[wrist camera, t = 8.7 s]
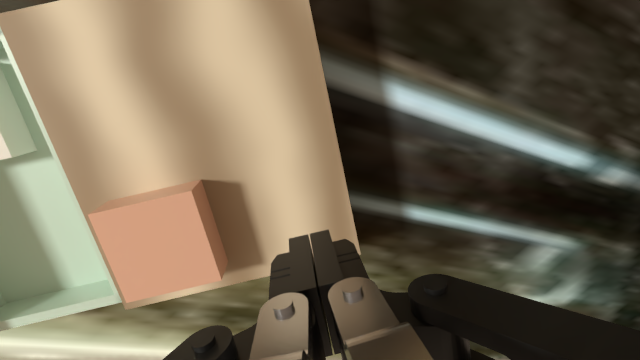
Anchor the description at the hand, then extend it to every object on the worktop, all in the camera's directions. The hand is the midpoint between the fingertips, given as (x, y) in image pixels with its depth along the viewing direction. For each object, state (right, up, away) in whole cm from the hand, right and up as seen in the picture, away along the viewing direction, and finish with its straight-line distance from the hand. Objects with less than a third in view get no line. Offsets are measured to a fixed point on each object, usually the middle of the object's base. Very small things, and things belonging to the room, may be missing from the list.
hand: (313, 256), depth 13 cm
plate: (-6, +5, +9) cm, 12 cm away
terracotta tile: (-8, 0, +6) cm, 10 cm away
